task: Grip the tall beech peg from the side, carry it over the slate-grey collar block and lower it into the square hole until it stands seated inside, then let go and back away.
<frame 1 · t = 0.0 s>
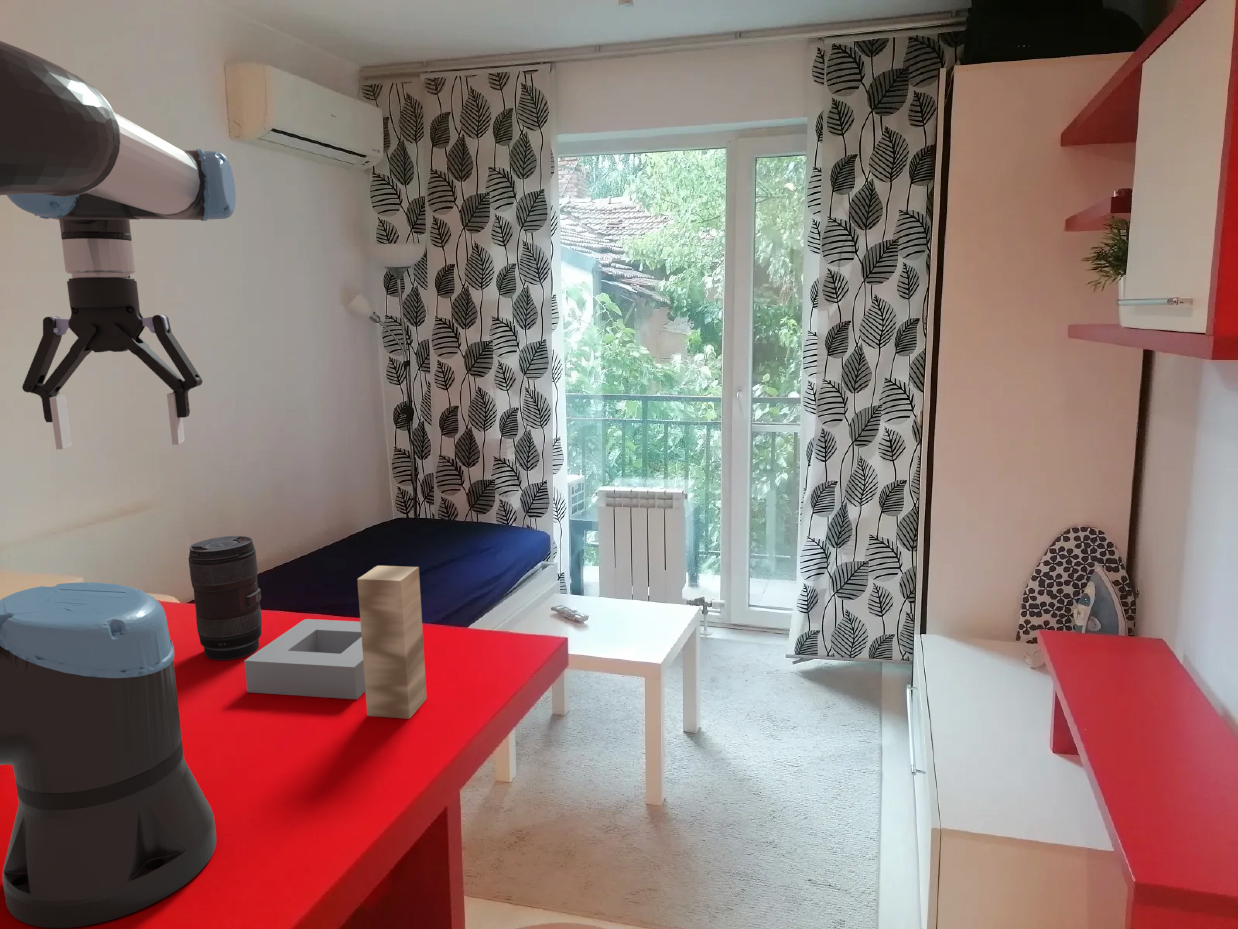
hand: (122, 445, 113), 28 cm above the table, tool pointing down, fingers open, 13 cm apart
camera lens: (232, 651, 118), on the table
socket block: (330, 671, 110), on the table
peg: (397, 707, 100), on the table
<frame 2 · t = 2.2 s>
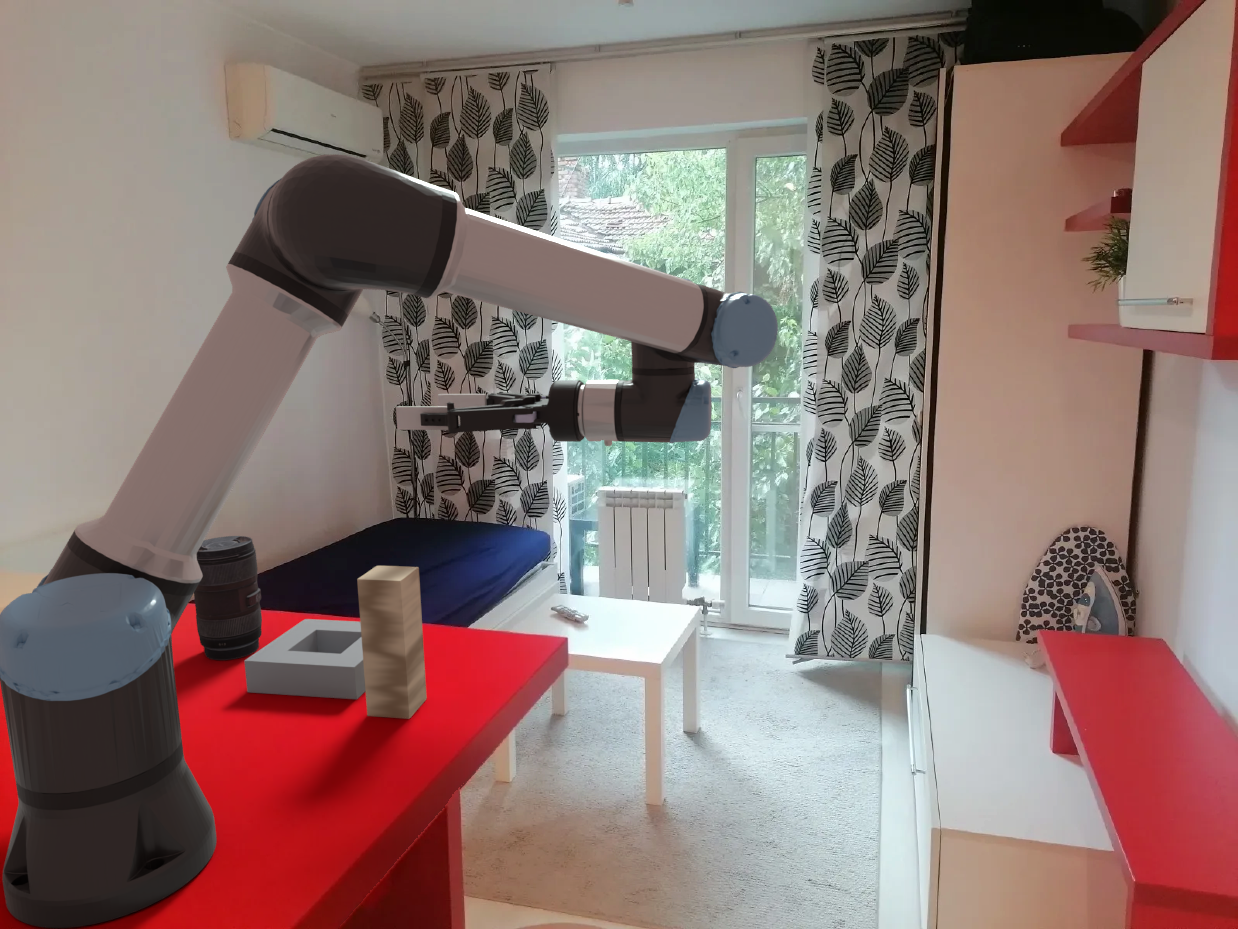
hand: (419, 410, 111), 32 cm above the table, tool horizontal, fingers open, 13 cm apart
nothing on the table moved.
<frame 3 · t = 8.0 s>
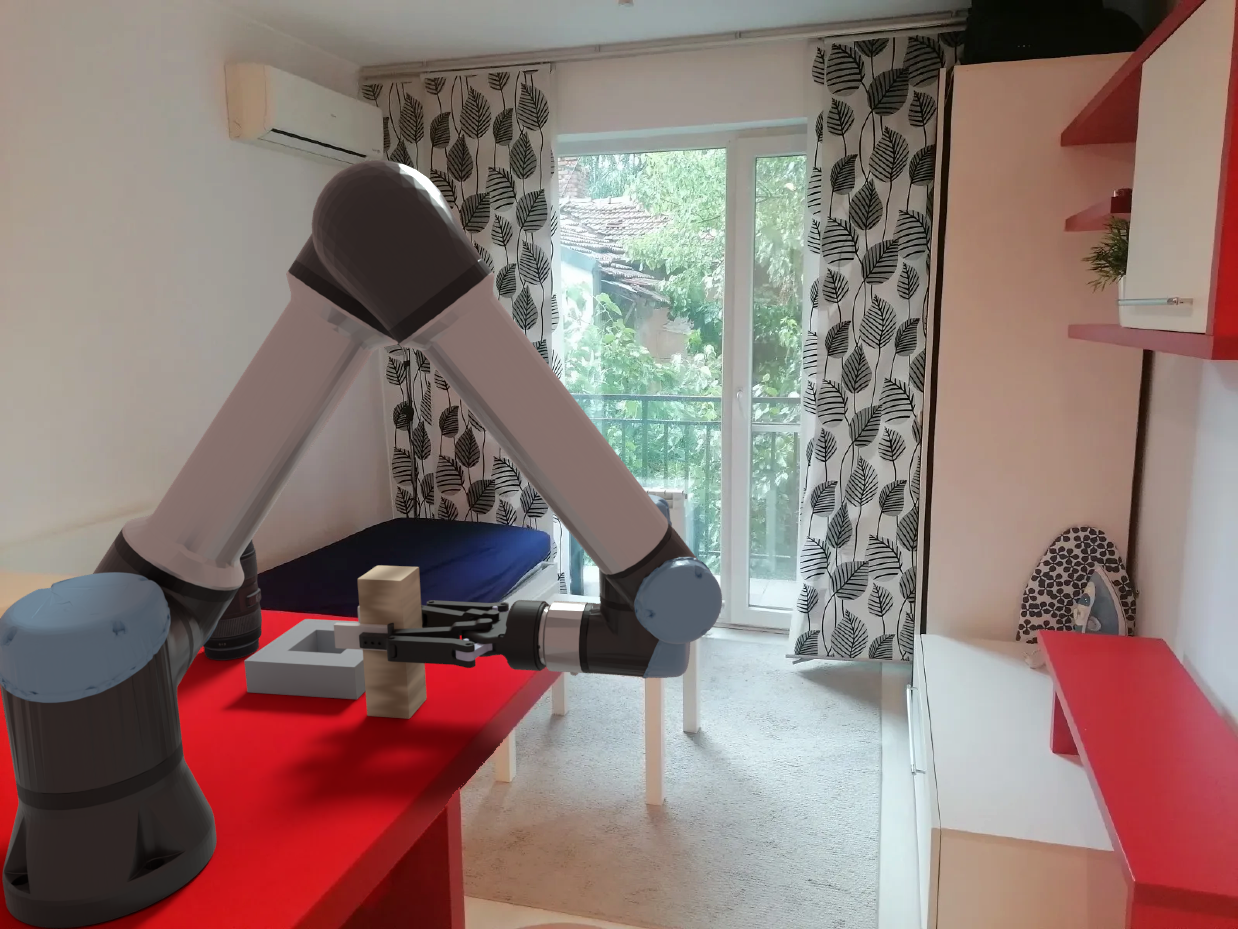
hand: (348, 625, 99), 10 cm above the table, tool horizontal, fingers closed on peg, 5 cm apart
peg: (397, 707, 100), on the table, touching gripper
everything else where it was.
when the fingers open (10 cm above the table, at t = 13.0 s): peg stays where it is, resting in socket block.
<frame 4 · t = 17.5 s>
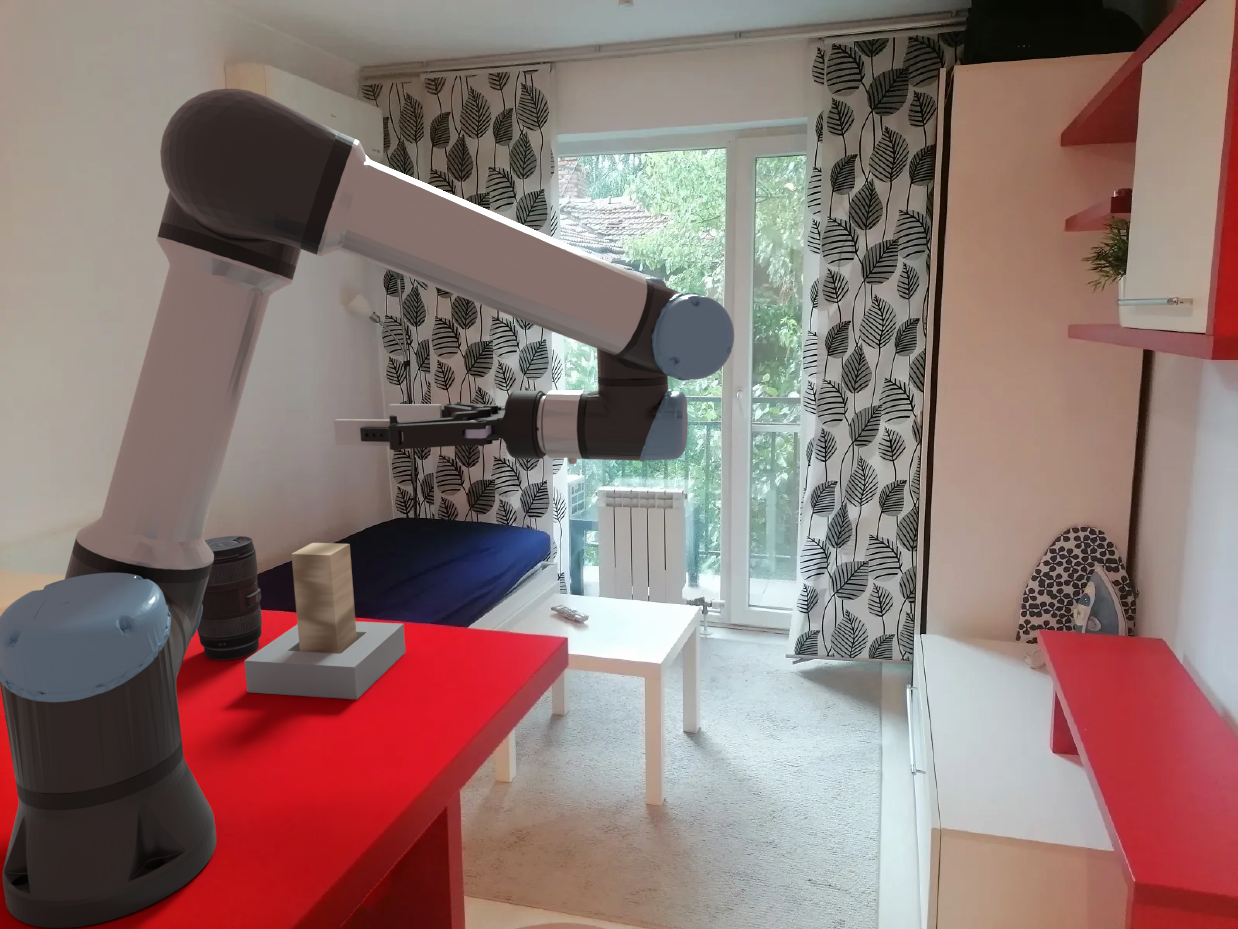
hand: (364, 423, 100), 32 cm above the table, tool horizontal, fingers open, 13 cm apart
peg: (330, 671, 110), resting in socket block
everything else where it was.
at the end: peg 0.1 cm off-centre on the socket block, point 0.0 cm above the socket block's base; peg tilted 0°; the gripper is holding nothing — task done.
